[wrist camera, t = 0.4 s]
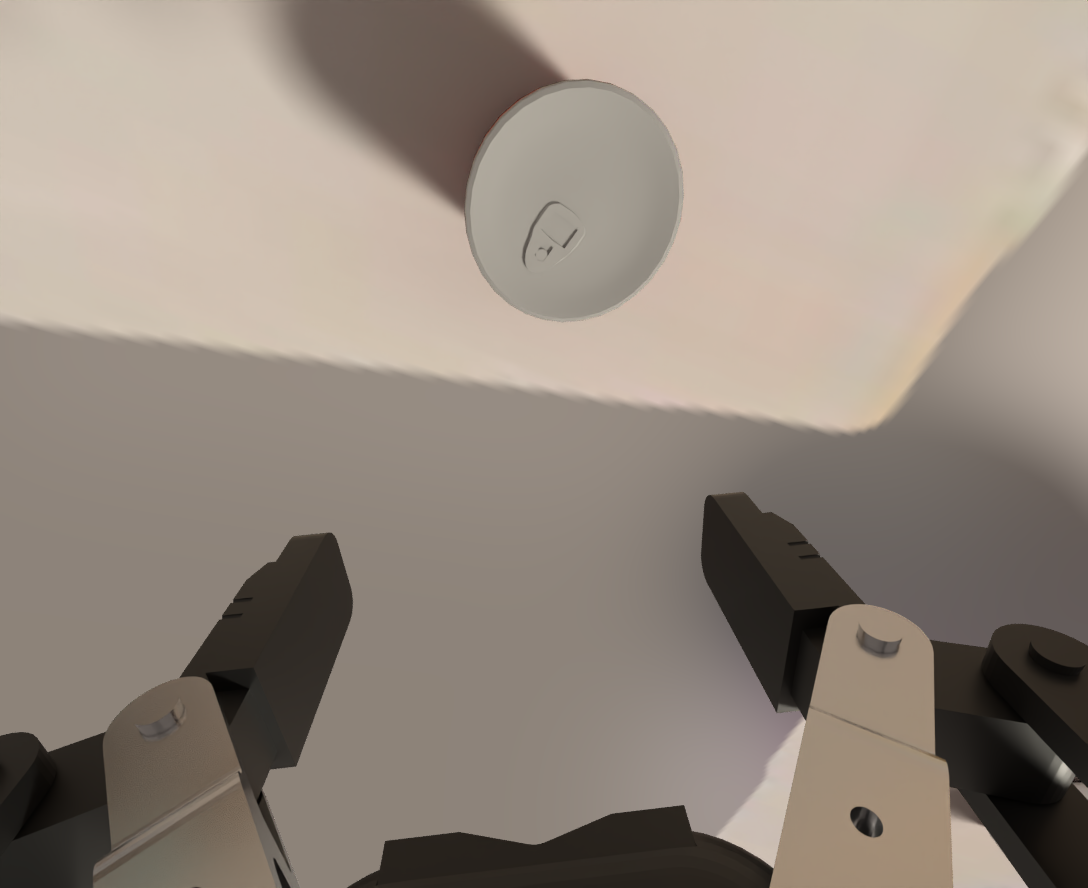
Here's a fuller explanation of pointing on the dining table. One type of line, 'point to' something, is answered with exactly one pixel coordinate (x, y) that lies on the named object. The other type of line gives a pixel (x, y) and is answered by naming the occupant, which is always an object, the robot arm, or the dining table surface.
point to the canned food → (573, 200)
